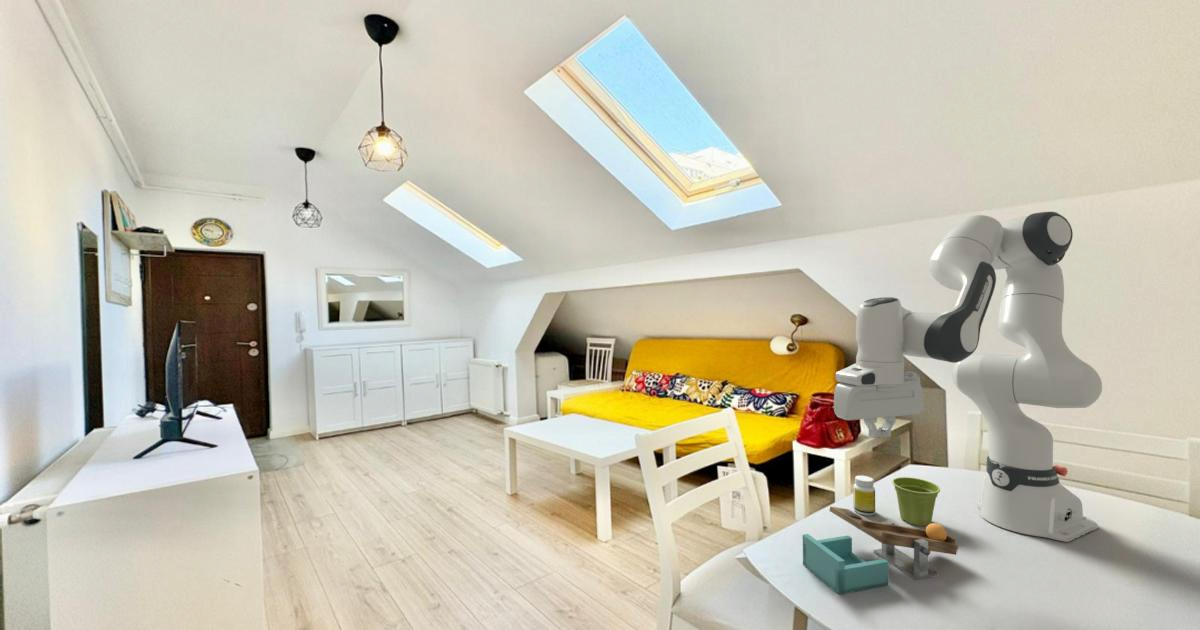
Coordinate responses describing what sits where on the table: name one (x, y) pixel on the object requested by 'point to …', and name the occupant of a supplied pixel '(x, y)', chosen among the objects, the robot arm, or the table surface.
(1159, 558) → the table surface
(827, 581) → the teal tray
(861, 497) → the supplement bottle
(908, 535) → the lever
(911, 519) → the plant pot
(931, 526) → the ball
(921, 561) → the fulcrum
